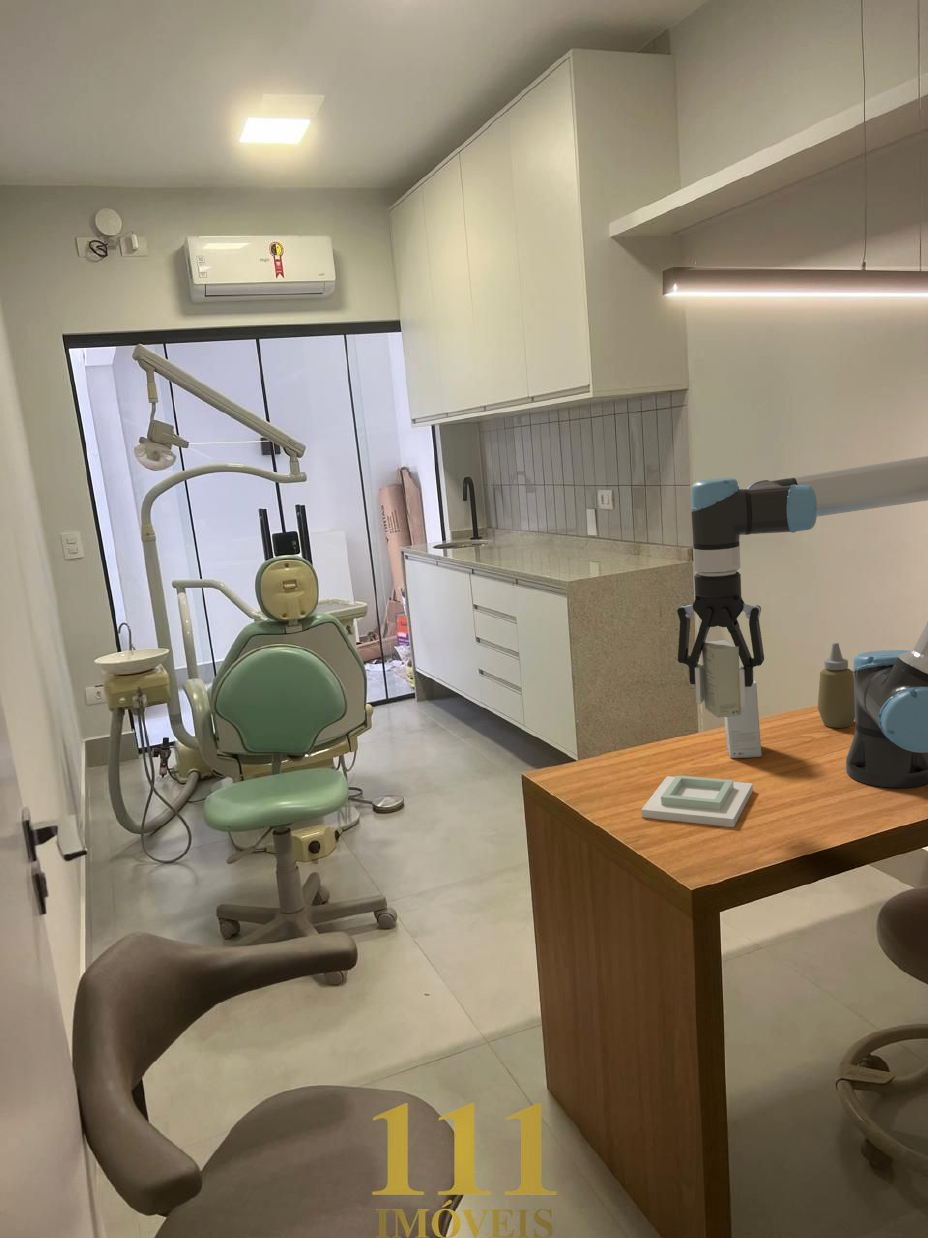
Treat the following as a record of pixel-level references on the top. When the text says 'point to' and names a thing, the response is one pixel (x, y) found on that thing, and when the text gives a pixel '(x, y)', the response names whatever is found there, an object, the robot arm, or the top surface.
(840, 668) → the squeeze bottle
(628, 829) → the top surface
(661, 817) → the collar plate
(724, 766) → the top surface
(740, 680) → the robot arm
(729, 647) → the skincare box
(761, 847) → the top surface
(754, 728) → the skincare box
